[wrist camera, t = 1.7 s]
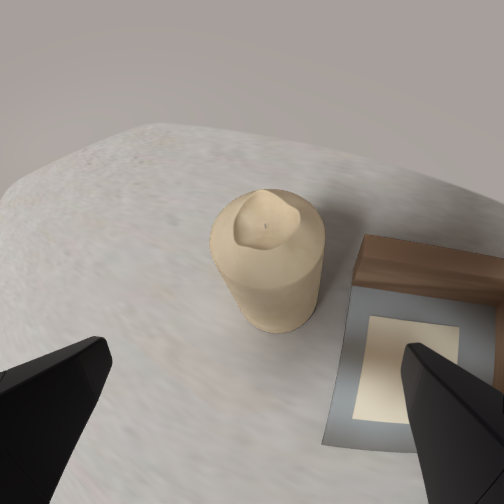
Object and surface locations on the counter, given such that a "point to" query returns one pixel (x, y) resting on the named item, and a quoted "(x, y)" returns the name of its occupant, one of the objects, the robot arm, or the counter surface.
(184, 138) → the counter surface
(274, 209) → the candle
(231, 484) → the counter surface
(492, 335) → the frame
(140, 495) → the counter surface
